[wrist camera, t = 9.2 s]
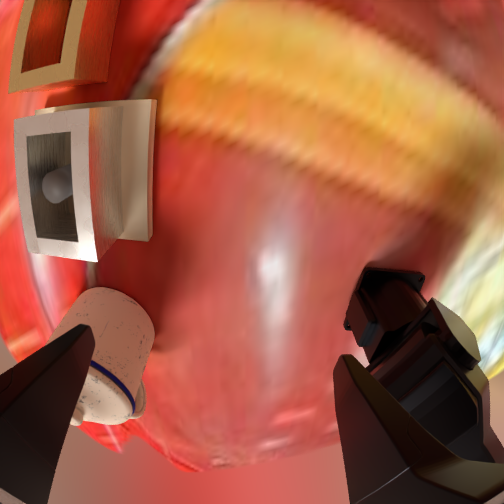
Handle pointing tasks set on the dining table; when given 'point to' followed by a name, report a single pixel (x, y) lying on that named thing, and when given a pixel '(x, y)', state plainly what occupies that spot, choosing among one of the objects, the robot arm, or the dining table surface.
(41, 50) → the link
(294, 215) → the dining table surface
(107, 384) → the teacup with lid
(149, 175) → the keeper
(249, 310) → the dining table surface
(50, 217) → the link
